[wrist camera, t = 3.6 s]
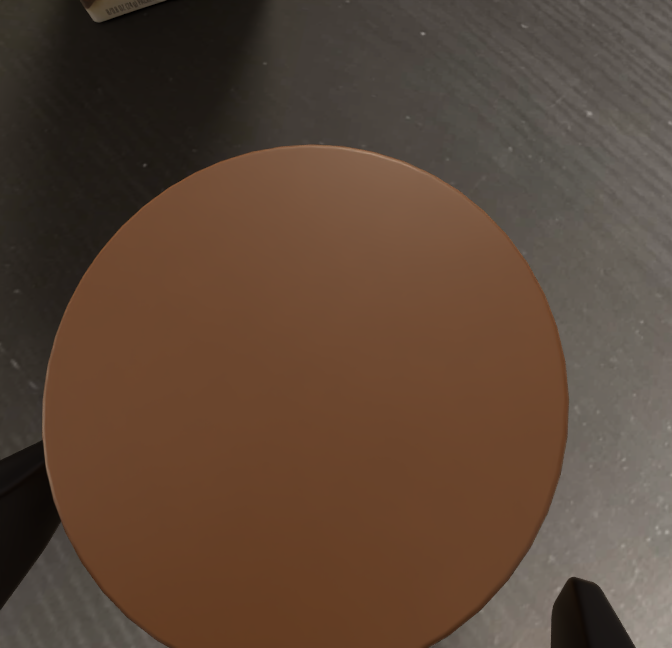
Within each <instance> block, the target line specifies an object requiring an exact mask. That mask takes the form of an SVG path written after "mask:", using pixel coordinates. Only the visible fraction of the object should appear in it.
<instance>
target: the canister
mask: <svg viewBox="0 0 672 648" xmlns="http://www.w3.org/2000/svg"><path fill="white" fill-rule="evenodd" d="M568 410H569V394H568V384H567V373H566V363H565V358H564V354H563V350H562V345H561V341H560V337H559V333H558V328H557V325H556V323H555V320H554V317H553V315H552V312H551V310H550V307H549V304H548V302H547V299H546V296H545V294H544V292H543V290H542V288H541V287H540V285H539V283H538V281H537V279H536V277H535V276H534V274H533V272H532V270H531V268H530V266H529V265H528V263H527V262H526V260H525V259H524V257H523V256H522V255H521V253H520V252H519V251H518V249H517V248H516V246H515V245H514V244H513V242H512V241H511V240H510V238H509V237H508V236H507V235H506V233H505V232H504V231H503V230H502V229H501V228H500V227H499V226H498V225H497V224H496V223H495V222H494V221H493V220H492V219H491V218H490V217H489V216H488V215H487V214H486V213H485V211H483V210H482V209H481V208H480V207H478V206H477V205H476V204H475V203H473V202H472V201H471V200H470V199H468V198H467V197H466V196H465V195H464V194H462V193H461V192H460V191H458V190H457V189H455V188H454V187H452V186H450V185H449V184H447V183H445V182H444V181H442V180H441V179H439V178H437V177H436V176H434V175H432V174H431V173H428V172H426V171H424V170H422V169H419V168H417V167H415V166H413V165H411V164H408V163H406V162H404V161H401V160H398V159H395V158H392V157H388V156H385V155H382V154H379V153H375V152H371V151H366V150H360V149H355V148H349V147H343V146H328V145H298V146H282V147H276V148H271V149H265V150H260V151H254V152H250V153H247V154H243V155H240V156H237V157H233V158H230V159H227V160H224V161H221V162H219V163H216V164H214V165H212V166H209V167H207V168H205V169H203V170H200V171H198V172H196V173H194V174H192V175H190V176H188V177H187V178H185V179H183V180H181V181H180V182H178V183H176V184H175V185H173V186H171V187H169V188H168V189H166V190H165V191H164V192H162V193H161V194H160V195H158V196H157V197H155V198H154V199H153V200H151V201H150V202H149V203H147V204H146V205H145V206H143V207H142V208H141V209H140V210H139V211H138V212H137V213H136V214H135V215H134V216H132V217H131V218H130V219H129V220H128V221H127V222H126V223H125V224H124V225H123V226H122V227H121V228H120V229H119V230H118V231H117V232H116V233H115V235H114V236H113V237H112V238H111V239H110V240H109V242H108V243H107V244H106V245H105V246H104V247H103V248H102V250H101V251H100V252H99V254H98V255H97V257H96V258H95V259H94V261H93V262H92V264H91V265H90V267H89V268H88V270H87V271H86V273H85V274H84V276H83V277H82V279H81V281H80V283H79V284H78V286H77V288H76V290H75V292H74V294H73V296H72V298H71V300H70V302H69V303H68V305H67V308H66V310H65V313H64V315H63V318H62V321H61V323H60V326H59V328H58V331H57V333H56V336H55V340H54V344H53V348H52V351H51V355H50V359H49V363H48V367H47V373H46V381H45V388H44V395H43V416H42V436H43V446H44V456H45V465H46V470H47V475H48V479H49V483H50V487H51V492H52V496H53V500H54V503H55V505H56V508H57V511H58V514H59V516H60V519H61V522H62V524H63V527H64V530H65V532H66V534H67V536H68V538H69V540H70V542H71V543H72V545H73V547H74V549H75V551H76V553H77V555H78V557H79V558H80V560H81V562H82V564H83V565H84V567H85V568H86V569H87V571H88V572H89V574H90V575H91V576H92V578H93V579H94V580H95V582H96V583H97V585H98V586H99V587H100V589H101V590H102V592H103V593H104V594H105V595H106V596H107V597H108V598H109V599H110V600H111V601H112V602H113V603H114V604H115V605H116V606H117V607H118V608H119V609H120V610H121V611H122V612H123V613H124V614H125V616H126V617H127V618H129V619H130V620H131V621H132V622H134V623H135V624H136V625H138V626H139V627H140V628H141V629H143V630H144V631H145V632H147V633H148V634H149V635H150V636H152V637H153V638H154V639H156V640H157V641H159V642H160V643H162V644H164V645H166V646H167V647H169V648H429V647H431V646H432V645H434V644H436V643H437V642H439V641H441V640H442V639H444V638H446V637H448V636H449V635H451V634H452V633H453V632H454V631H456V630H457V629H458V628H459V627H460V626H462V625H463V624H464V623H465V622H467V621H468V620H469V619H470V618H472V617H473V616H474V615H475V614H476V613H478V612H479V611H480V610H481V609H482V608H483V607H484V606H485V605H486V604H487V603H488V602H489V601H490V600H491V598H492V597H493V596H494V595H495V594H496V593H497V592H498V591H499V590H500V589H501V588H502V586H503V585H504V584H505V583H506V582H507V581H508V580H509V578H510V577H511V575H512V574H513V573H514V571H515V570H516V568H517V567H518V565H519V564H520V562H521V561H522V559H523V558H524V557H525V555H526V554H527V552H528V551H529V549H530V548H531V546H532V544H533V542H534V540H535V538H536V536H537V534H538V532H539V530H540V528H541V526H542V524H543V522H544V520H545V518H546V516H547V513H548V511H549V508H550V505H551V502H552V499H553V496H554V493H555V490H556V487H557V484H558V481H559V478H560V475H561V469H562V464H563V458H564V453H565V447H566V442H567V434H568Z"/></svg>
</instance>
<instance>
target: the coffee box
mask: <svg viewBox="0 0 672 648" xmlns="http://www.w3.org/2000/svg"><path fill="white" fill-rule="evenodd" d="M80 1H81V3H82V4H83V6H84V7H85V9H86V10H87V12H88V13H89V15H90V16H91V18H92V19H93V20H94V21H95V22H98V23H99V22H103V21H106V20H109V19H111V18H114V17H117V16H120V15H123V14H126V13H129V12H132V11H135V10H138V9H141V8H144V7H147V6H150V5H154V4H157V3H160V2H163V1H166V0H80Z"/></svg>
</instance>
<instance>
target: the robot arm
mask: <svg viewBox="0 0 672 648" xmlns="http://www.w3.org/2000/svg"><path fill="white" fill-rule="evenodd" d="M60 523H61V519H60V516H59V514H58V511H57V508H56V505H55V503H54V500H53V496H52V492H51V487H50V483H49V479H48V475H47V470H46V465H45V456H44V446H43V440H42V441H40V442H38V443H36V444H34V445H32V446H29V447H27V448H25V449H23V450H21V451H19V452H17V453H15V454H13V455H11V456H9V457H6V458H4V459H2V460H0V610H1V609H2V607H3V606H4V605H5V603H6V602H7V600H8V599H9V598H10V596H11V595H12V594H13V592H14V591H15V589H16V588H17V587H18V585H19V584H20V583H21V581H22V580H23V578H24V577H25V576H26V574H27V573H28V572H29V570H30V569H31V567H32V566H33V565H34V563H35V562H36V560H37V559H38V558H39V556H40V555H41V553H42V552H43V550H44V549H45V547H46V546H47V544H48V543H49V541H50V539H51V538H52V536H53V534H54V533H55V531H56V529H57V528H58V526H59V524H60ZM551 648H636V647H635V645H634V644H633V642H632V640H631V639H630V637H629V635H628V634H627V632H626V630H625V628H624V627H623V625H622V623H621V622H620V620H619V618H618V617H617V615H616V613H615V611H614V610H613V608H612V606H611V605H610V603H609V601H608V600H607V598H606V596H605V595H604V593H603V591H602V590H601V588H600V587H599V586H598V585H597V584H595V583H594V582H590V581H587V580H583V579H580V578H576V577H571V578H569V579H568V580H567V582H566V584H565V585H564V587H563V589H562V590H561V592H560V594H559V596H558V597H557V599H556V601H555V603H554V605H553V609H552V619H551Z"/></svg>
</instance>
